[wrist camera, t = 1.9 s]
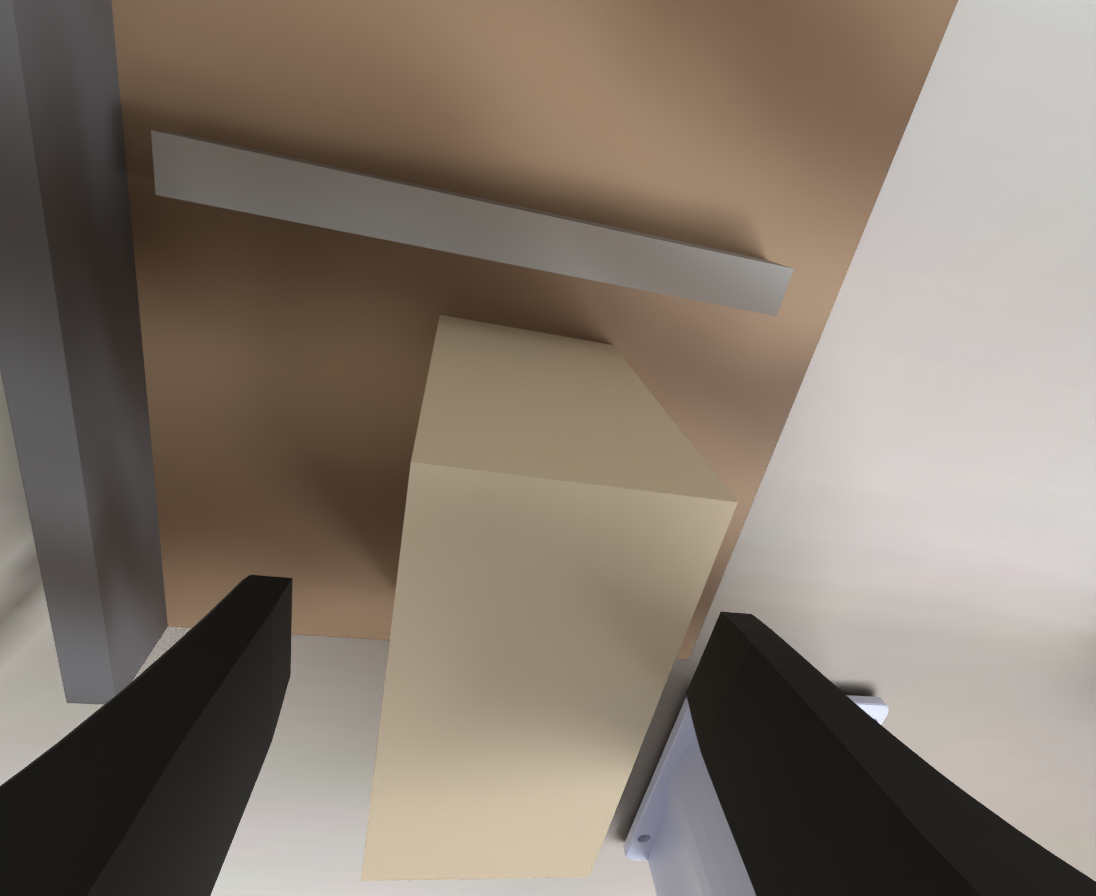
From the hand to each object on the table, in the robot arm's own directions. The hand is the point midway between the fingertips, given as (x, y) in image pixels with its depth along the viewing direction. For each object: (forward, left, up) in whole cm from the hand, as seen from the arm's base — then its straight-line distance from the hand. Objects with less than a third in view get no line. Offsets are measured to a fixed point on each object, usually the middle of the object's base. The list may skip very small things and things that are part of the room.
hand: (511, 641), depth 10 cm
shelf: (+4, +1, -7) cm, 8 cm away
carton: (0, 0, -6) cm, 6 cm away
